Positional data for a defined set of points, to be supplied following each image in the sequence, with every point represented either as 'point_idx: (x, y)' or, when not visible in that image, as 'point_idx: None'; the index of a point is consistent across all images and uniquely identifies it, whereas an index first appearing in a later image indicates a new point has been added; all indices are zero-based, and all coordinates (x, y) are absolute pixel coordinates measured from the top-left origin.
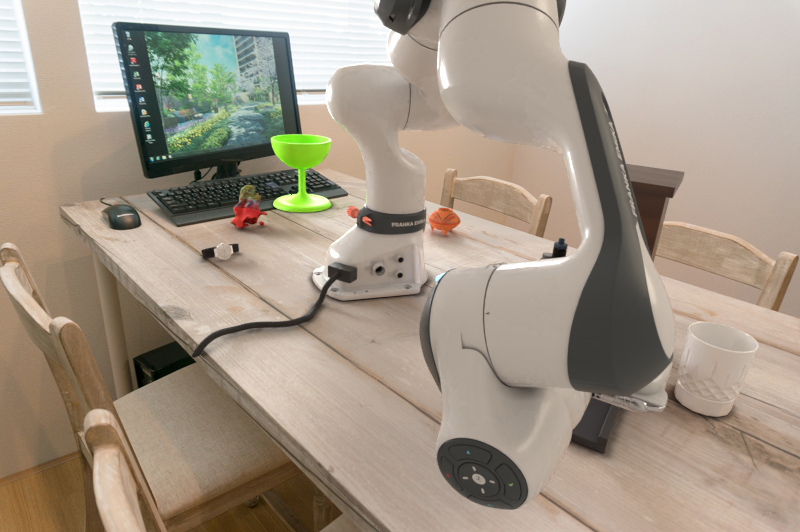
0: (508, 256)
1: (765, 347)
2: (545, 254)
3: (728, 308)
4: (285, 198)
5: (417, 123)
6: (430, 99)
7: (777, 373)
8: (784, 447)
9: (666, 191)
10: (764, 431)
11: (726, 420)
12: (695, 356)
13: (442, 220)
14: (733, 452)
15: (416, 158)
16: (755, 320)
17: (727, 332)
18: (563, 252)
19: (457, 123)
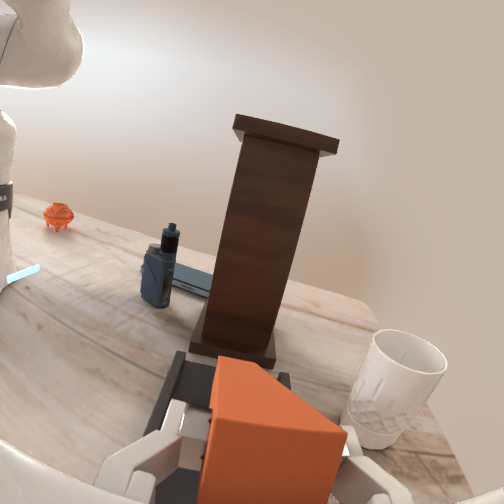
0: (116, 252)
1: (369, 334)
2: (152, 245)
3: (324, 298)
4: None
5: (11, 69)
6: (26, 28)
7: None
8: (446, 451)
9: (329, 143)
10: (427, 440)
11: (399, 444)
12: (391, 389)
13: (54, 214)
14: (425, 489)
15: (4, 116)
16: (347, 307)
17: (399, 339)
18: (174, 241)
19: (59, 76)
